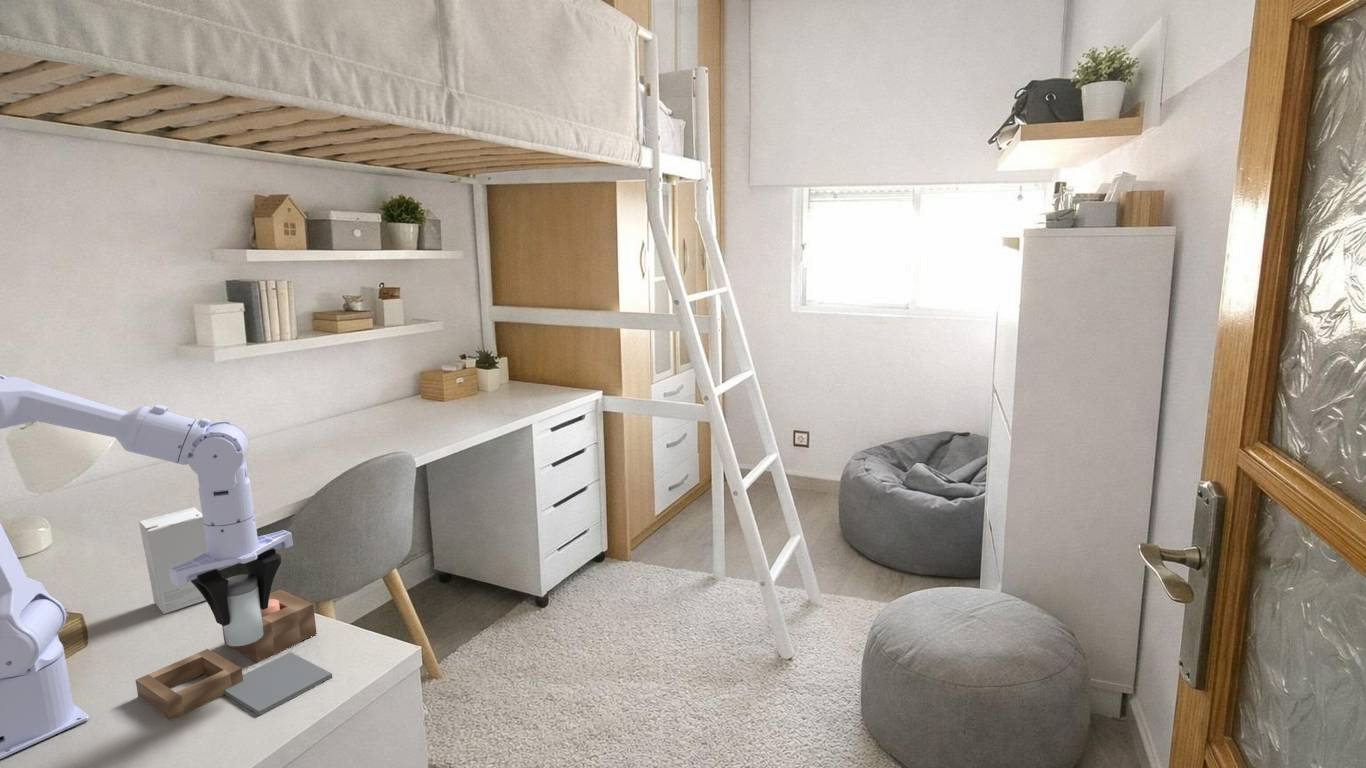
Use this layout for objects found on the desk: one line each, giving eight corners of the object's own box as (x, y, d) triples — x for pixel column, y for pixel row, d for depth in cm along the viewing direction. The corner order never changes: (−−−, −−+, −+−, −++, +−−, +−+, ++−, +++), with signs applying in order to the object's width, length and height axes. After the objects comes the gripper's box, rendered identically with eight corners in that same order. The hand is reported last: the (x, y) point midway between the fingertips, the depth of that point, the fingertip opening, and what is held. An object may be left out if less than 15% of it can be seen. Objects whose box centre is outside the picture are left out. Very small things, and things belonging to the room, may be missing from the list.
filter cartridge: (238, 649, 99) (230, 592, 98) (218, 640, 101) (211, 584, 100) (270, 634, 103) (263, 578, 101) (251, 626, 105) (244, 571, 103)
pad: (259, 715, 97) (258, 711, 97) (218, 690, 102) (218, 686, 102) (332, 677, 105) (331, 673, 105) (291, 655, 111) (290, 652, 110)
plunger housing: (257, 662, 109) (253, 629, 108) (224, 644, 114) (220, 613, 113) (316, 634, 116) (313, 604, 115) (283, 618, 121) (280, 589, 120)
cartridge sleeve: (171, 720, 96) (168, 702, 96) (138, 696, 101) (135, 679, 101) (243, 684, 104) (241, 668, 103) (210, 664, 108) (207, 648, 108)
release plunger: (265, 642, 113) (262, 611, 112) (254, 636, 115) (250, 605, 114) (286, 633, 115) (283, 602, 114) (275, 627, 117) (271, 597, 116)
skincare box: (208, 587, 132) (196, 505, 129) (219, 598, 128) (208, 514, 125) (150, 604, 126) (137, 518, 123) (160, 616, 122) (147, 528, 119)
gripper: (183, 543, 91) (199, 648, 93) (300, 506, 102) (311, 600, 105) (155, 531, 94) (171, 632, 97) (271, 496, 106) (282, 587, 109)
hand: (242, 614), depth 101 cm, fingers closed on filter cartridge, 4 cm apart
